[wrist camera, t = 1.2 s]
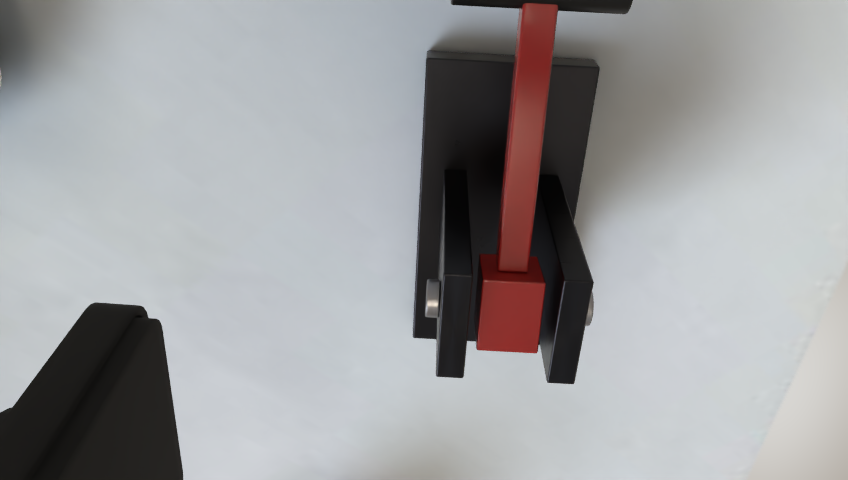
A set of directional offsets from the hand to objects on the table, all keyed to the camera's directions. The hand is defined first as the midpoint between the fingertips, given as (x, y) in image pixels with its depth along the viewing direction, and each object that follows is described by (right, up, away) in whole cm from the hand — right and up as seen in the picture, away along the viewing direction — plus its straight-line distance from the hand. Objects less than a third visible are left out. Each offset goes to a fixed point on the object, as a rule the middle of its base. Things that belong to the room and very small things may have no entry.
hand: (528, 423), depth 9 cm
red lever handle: (+2, +5, +17) cm, 18 cm away
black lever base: (+2, +4, +24) cm, 25 cm away
